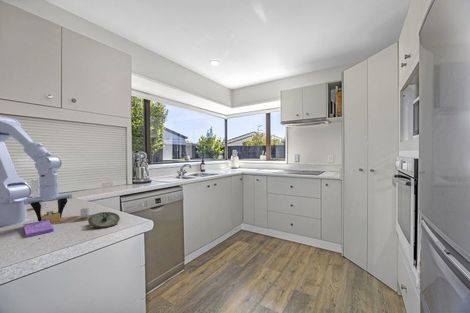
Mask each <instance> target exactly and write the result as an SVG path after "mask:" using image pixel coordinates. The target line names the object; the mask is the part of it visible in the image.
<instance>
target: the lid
mask: <svg viewBox="0 0 470 313" xmlns="http://www.w3.org/2000/svg"><path fill="white" fill-rule="evenodd" d="M91 215H92V216H91V217H89V219H88V221H87V222H88V224H89V225H90V226H91V227H93V228H96V229H106V228H110V227H113V226H115V225H117V224H118V223H119V222H120V220H121V218H120V215H119V214H117V213H116V212H111V211H101V212H97V213H94V215H93V214H91Z"/></svg>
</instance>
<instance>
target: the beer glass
mask: <svg viewBox="0 0 470 313" xmlns="http://www.w3.org/2000/svg"><path fill="white" fill-rule="evenodd" d="M30 187H31V189H32V193H31V198H36V197H40V182H39V178H37V179H31V181H30ZM40 205H41V210H42V209H46V208H48V207H49V204H48V201H47V202H40ZM31 209H32V210H34V209H33V208H32V207H31Z"/></svg>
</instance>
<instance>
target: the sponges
mask: <svg viewBox="0 0 470 313" xmlns="http://www.w3.org/2000/svg"><path fill="white" fill-rule="evenodd" d="M23 230H24V234H25V238H30V237H35V236H39V235H44V234H47V233H52V232H55V230H54V227H53V225H51V223H50V221H49V220H48V219H47V220H43V221H40V222H39V221H35V222H29V223H23Z"/></svg>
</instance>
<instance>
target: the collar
mask: <svg viewBox="0 0 470 313" xmlns="http://www.w3.org/2000/svg"><path fill="white" fill-rule="evenodd" d="M47 219H48V220H49V221H50V223H53V222H58V221H60V213H58V211H53V215H46V213H41V221H43V220H47Z"/></svg>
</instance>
